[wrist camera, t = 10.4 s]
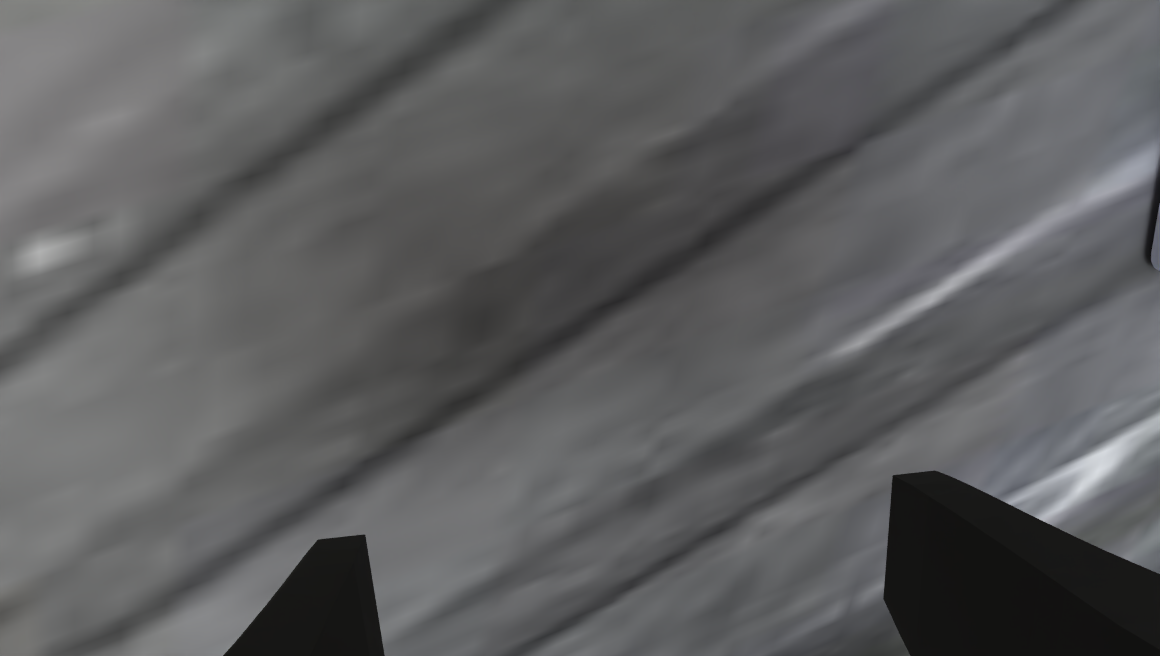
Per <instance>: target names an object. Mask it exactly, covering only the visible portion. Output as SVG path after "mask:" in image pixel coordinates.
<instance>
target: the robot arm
mask: <svg viewBox="0 0 1160 656" xmlns="http://www.w3.org/2000/svg"><path fill="white" fill-rule="evenodd" d="M1151 262H1152V264H1153V266H1154V268H1155V269H1157V270H1158V271H1160V205H1159V211H1158V216H1157V222H1156V228H1155V234H1154V240H1153V246H1152V251H1151ZM884 601H885V603H886V605H887V607H888V609H889V612H890V614H891V616H892V618H893V620H894V623H895V625H896V627H897V629H898V631H899V633H900V635H901V637H902V639H903V641H904V643H905V645H906V647H907V649H908V651H909V653H910V655H911V656H1160V574H1158V573H1156V572H1153V571H1151V570H1149V569H1146V568H1144V567H1142V566H1139V565H1137V564H1135V563H1132V562H1130V561H1128V560H1125V559H1123V558H1121V557H1118V556H1116V555H1114V554H1111V553H1109V552H1107V551H1105V550H1102V549H1100V548H1098V547H1096V546H1094V545H1092V544H1089V543H1087V542H1085V541H1083V540H1081V539H1079V538H1077V537H1074V536H1072V535H1070V534H1068V533H1066V532H1064V531H1062V530H1060V529H1058V528H1056V527H1054V526H1052V525H1050V524H1047V523H1045V522H1043V521H1041V520H1039V519H1037V518H1035V517H1033V516H1031V515H1029V514H1027V513H1025V512H1023V511H1021V510H1019V509H1017V508H1015V507H1013V506H1011V505H1009V504H1007V503H1005V502H1003V501H1001V500H999V499H997V498H995V497H993V496H991V495H989V494H987V493H985V492H983V491H981V490H979V489H976V488H974V487H972V486H970V485H968V484H966V483H964V482H962V481H959V480H957V479H955V478H953V477H950V476H948V475H945V474H943V473H940V472H938V471H927V472H918V473H909V474H900V475H893V479H892V493H891V506H890V519H889V533H888V546H887V559H886V573H885V586H884ZM223 656H384V650H383V643H382V637H381V631H380V625H379V618H378V612H377V606H376V600H375V593H374V587H373V581H372V575H371V568H370V562H369V556H368V549H367V543H366V537H365V535H356V536H347V537H338V538H329V539H320V540H317V542H316V543H315V544H314V545H313V546H312V547H311V548H310V550H309V551H308V552H307V553H306V555H305V556H304V557H303V558H302V560H301V561H300V562H299V564H298V565H297V566H296V568H295V569H294V570H293V571H292V573H291V574H290V575H289V577H288V578H287V579H286V581H285V582H284V583H283V584H282V586H281V587H280V588H279V590H278V591H277V592H276V593H275V595H274V596H273V597H272V598H271V600H270V601H269V602H268V603H267V605H266V606H265V607H264V608H263V610H262V611H261V612H260V613H259V614H258V616H257V617H256V618H255V619H254V620H253V622H252V623H251V624H250V625H249V626H248V628H247V629H246V630H245V631H244V632H243V634H242V635H241V636H240V637H239V638H238V640H237V641H236V642H235V643H234V644H233V645H232V647H231V648H230V649H229V650H228V651H227V652H226V653H225V654H224V655H223Z"/></svg>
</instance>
